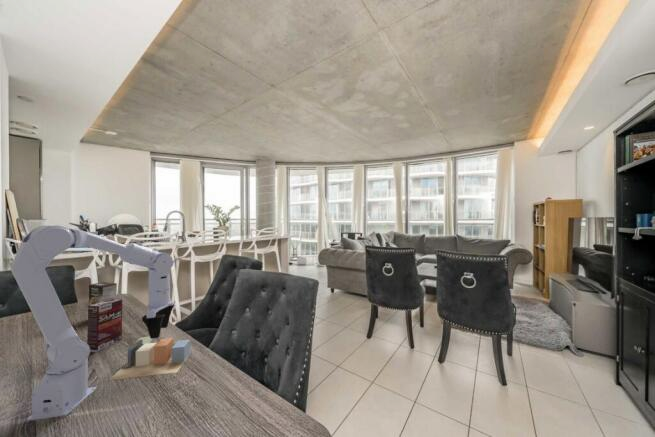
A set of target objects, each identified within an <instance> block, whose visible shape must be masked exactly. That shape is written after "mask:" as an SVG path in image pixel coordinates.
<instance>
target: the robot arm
mask: <svg viewBox="0 0 655 437" xmlns="http://www.w3.org/2000/svg"><path fill="white" fill-rule="evenodd" d="M86 247H87V248H92V249H95V250H98V251H101V252H106V253H110V254H114V255H118V256H119V258H120V260H121V261H122V262H124V263H128V264H132V265H136V266H140V267H142V268H147V269H148V304H147V311H146V314H145V315H143V316H142V317H141V320H142V322H143V323H144V325H145V326H146V328H147V332H148V336H150V338H151V339H153V338H154V339H158V338H160V334H161V330H162V329H167V328H168V325H169V322H170V316H171V313H172V311H173V310H174V307H175V301H171V268H172V267H173V265H174V263H175V260H173V257H172V256H171V254H170V253H167V252H161V251H159V249H157V248H150V247H148V246H144V244H143V243H141V242H138V241H137V242H136V243H135V242H129V243H127V244H123V243H120V242H117V241H115V240H112V239H109V238H106V237H104V236H100V235H98V234H94V233H91V232H89V231H86V230H85V231H84V230H82V229H81V230H80V229H74V228H67V227H65V226H63V225H41V226H37V227H35V228H34V229H32V230H31V231H30V232H28V234H26V235H25V236H24V237H23V238H22V239H21V242H20V245H19V247H18V249H17V251H16V253H15V256H14V258H13V260H12V262H11V264H10V272H11V273H12V275H13V278H14V279H15V281H16V283H17V285H18V287H19V290H20V291H21V292H22V295H23V297H24V299H25V301H26V303H27V305H28V306H29V309H30V311H31V313H32V315H33V317H34V319H35V321H36V323H37V325H38V327H39V329H40V331H41V332H42V335H43V339H44V342H45V344H46V347H45V350H44V355H45V356H46V358H47V359H49V360H50V362H49V364H48V365H47V367H45V374H44V376H43V377H42V379H41V380H40V381H39V382H38V383H37V384H36V385H35V387H33V389H32V392H31V415H30V416H28V417H26V420H27V421H33V420H42V419H48V418H49V419H50V418H56V417H65V416H68V415H69V414H70V413H71V411H72V410H74V409H75V408H76V407H77V406H78V405H80V403H81V402H83V401H84V400H85V399H87V397H88V396H89V395H90V394H91V393H93V392H94V391H95V390H96V389H97V386H93V387H92V386H91V387H88V385H89V384H88V380H89V376H88V375H89V374H88V373H89V370H88V369H89V368H88V367H89V366H88V365H89V364H88V360H89V359H88V358H89V356H90V354H91V352H90V347H89V346H88V344H87V343H86V342H84V341H83V340H81V339H80V336H79V335H78V333H77V332H76V330H75V329H74V327H73V326H72V324H71V321H70V320H69V317H68V314H67V313H66V311H65V309H64V306H63V305H62V303H61V301H60V298H59V296H58V294H57V291H56V290H55V288H54V286H53V283H52V280H51V279H50V277H49V275H48V272H47V270H46V268H47V267H48V266H49V264H50V263H51V262H52V261H53V260H54V259H55V257H57V256H58V255H60V254H62V253H64V252H65V251H66V250H68V249H69V248H73V249H79V248H86ZM154 339H153V340H154Z"/></svg>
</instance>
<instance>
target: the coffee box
mask: <svg viewBox="0 0 655 437" xmlns="http://www.w3.org/2000/svg"><path fill="white" fill-rule="evenodd" d="M117 284H118V283H117V282H106V281H102V282H97V283H92V284H89V285H88V306H89V305H93V304H97V303H100V302H104V301H108V300H111V299H118V298H117V296H118V295H117V293H118V292H117V290H118V286H117Z"/></svg>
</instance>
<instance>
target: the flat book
mask: <svg viewBox="0 0 655 437" xmlns="http://www.w3.org/2000/svg"><path fill="white" fill-rule="evenodd" d="M154 339H155V338H153V339H151V338H150V335H148V336H143V337H139V338H138V339H137V340H136V342H138V341H139V340H142V346H143V345H144V344H146V343H153V341H154Z"/></svg>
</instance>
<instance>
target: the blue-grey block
mask: <svg viewBox="0 0 655 437" xmlns="http://www.w3.org/2000/svg"><path fill="white" fill-rule="evenodd" d="M190 352H191V339H179V340H177V341H176V342H175V343H174V346H173V347H172V362H182V361H185V359H186V358H187V357H188V358H189V356H190V355H189V354H191V353H190ZM188 355H189V356H188ZM188 358H187V359H188ZM187 359H186V360H187ZM185 362H186V361H185Z"/></svg>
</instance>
